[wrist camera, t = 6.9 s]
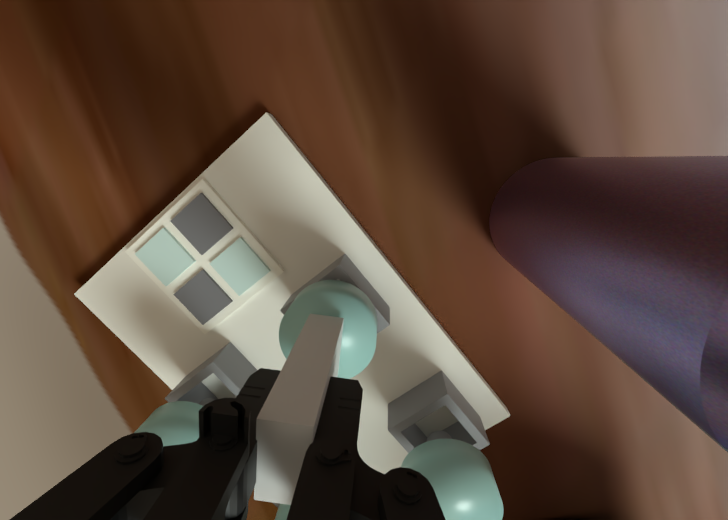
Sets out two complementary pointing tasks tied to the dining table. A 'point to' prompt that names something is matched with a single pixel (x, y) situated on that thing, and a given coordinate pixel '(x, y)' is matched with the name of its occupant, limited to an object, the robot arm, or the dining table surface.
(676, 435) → the dining table surface
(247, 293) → the board
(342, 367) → the button
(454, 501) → the button
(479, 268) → the dining table surface
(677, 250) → the beverage can
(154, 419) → the button
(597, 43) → the dining table surface
